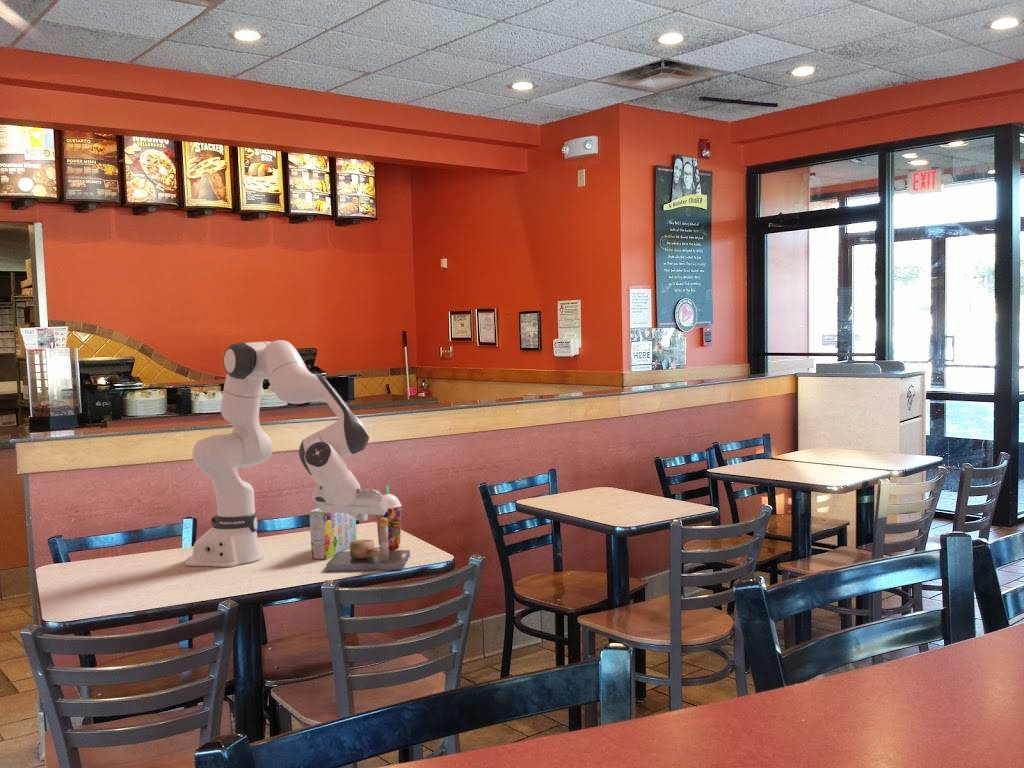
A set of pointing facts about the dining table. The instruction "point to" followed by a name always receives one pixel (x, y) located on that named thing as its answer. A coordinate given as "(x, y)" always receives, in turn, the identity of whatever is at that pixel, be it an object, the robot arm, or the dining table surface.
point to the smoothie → (392, 520)
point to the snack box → (330, 533)
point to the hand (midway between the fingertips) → (362, 518)
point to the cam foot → (372, 544)
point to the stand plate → (368, 562)
